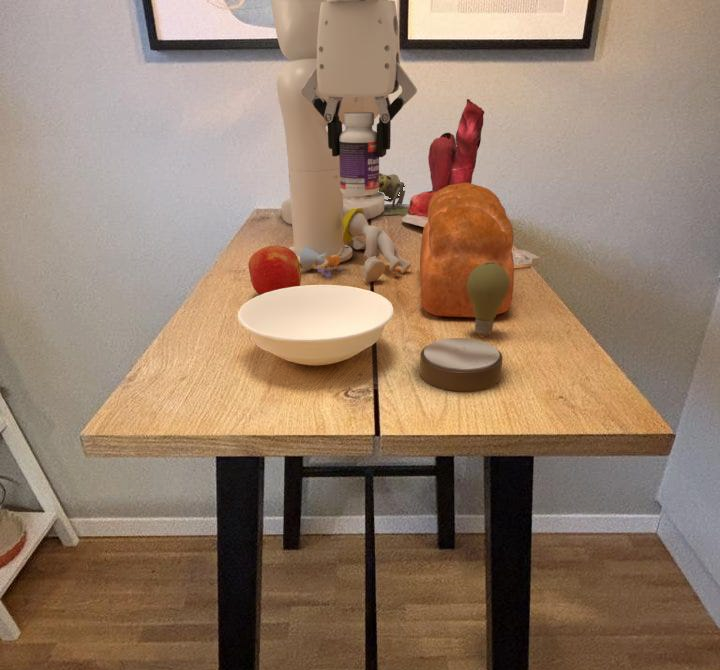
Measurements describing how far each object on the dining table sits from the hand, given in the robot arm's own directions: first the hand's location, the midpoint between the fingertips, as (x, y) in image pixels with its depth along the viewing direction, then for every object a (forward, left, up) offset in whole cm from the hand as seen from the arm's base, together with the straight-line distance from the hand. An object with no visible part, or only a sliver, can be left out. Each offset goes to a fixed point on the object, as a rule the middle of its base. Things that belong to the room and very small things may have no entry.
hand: (359, 153), depth 88 cm
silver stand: (+19, +17, -22) cm, 34 cm away
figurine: (-16, +1, -21) cm, 26 cm away
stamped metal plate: (-31, +23, -23) cm, 45 cm away
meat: (-54, +12, -25) cm, 60 cm away
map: (-66, -1, -22) cm, 70 cm away
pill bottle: (0, 0, -5) cm, 5 cm away
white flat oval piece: (-61, -20, -22) cm, 68 cm away
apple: (-3, -15, -22) cm, 27 cm away
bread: (-12, +14, -22) cm, 29 cm away
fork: (-37, -10, -19) cm, 43 cm away
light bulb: (+6, +19, -22) cm, 30 cm away
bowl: (+17, -2, -22) cm, 28 cm away
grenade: (-61, -14, -14) cm, 64 cm away
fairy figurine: (-19, -19, -21) cm, 34 cm away
